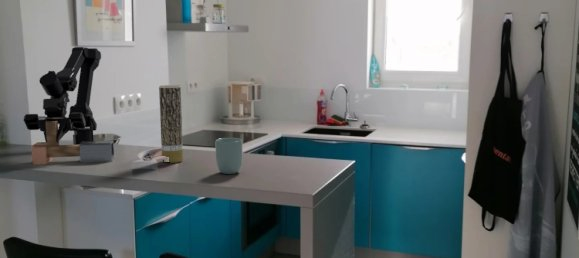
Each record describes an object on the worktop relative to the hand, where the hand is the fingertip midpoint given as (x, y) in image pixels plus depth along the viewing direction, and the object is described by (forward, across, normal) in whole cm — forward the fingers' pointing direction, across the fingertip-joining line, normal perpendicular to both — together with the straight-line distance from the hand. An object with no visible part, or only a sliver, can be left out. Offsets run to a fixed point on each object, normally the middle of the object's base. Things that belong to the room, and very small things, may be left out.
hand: (51, 141), depth 190 cm
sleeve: (+4, +14, +6) cm, 16 cm away
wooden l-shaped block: (+3, +4, +5) cm, 7 cm away
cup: (+23, +57, -13) cm, 63 cm away
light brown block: (+4, -4, +6) cm, 8 cm away
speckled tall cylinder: (+9, +39, +2) cm, 40 cm away
